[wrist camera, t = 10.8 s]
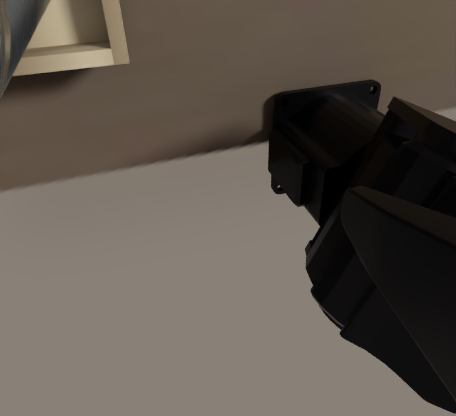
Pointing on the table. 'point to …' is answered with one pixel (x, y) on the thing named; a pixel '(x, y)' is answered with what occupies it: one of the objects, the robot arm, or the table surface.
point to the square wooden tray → (76, 37)
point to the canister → (16, 33)
